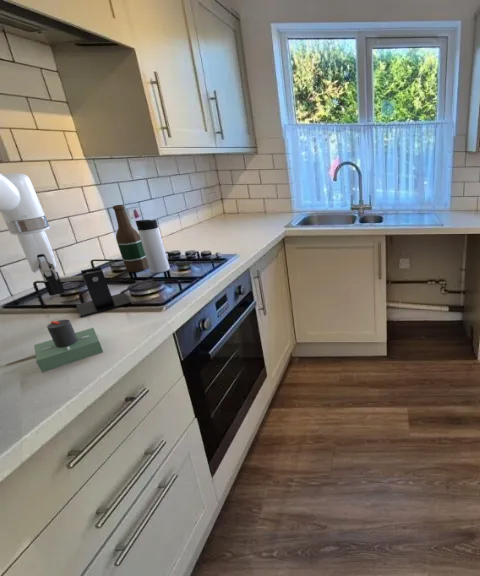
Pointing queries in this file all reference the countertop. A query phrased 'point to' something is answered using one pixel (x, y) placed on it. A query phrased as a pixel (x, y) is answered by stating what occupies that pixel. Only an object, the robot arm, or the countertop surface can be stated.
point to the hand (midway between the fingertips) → (56, 289)
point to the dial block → (67, 350)
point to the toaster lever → (72, 278)
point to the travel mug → (153, 246)
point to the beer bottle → (129, 242)
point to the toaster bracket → (99, 294)
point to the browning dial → (62, 333)
